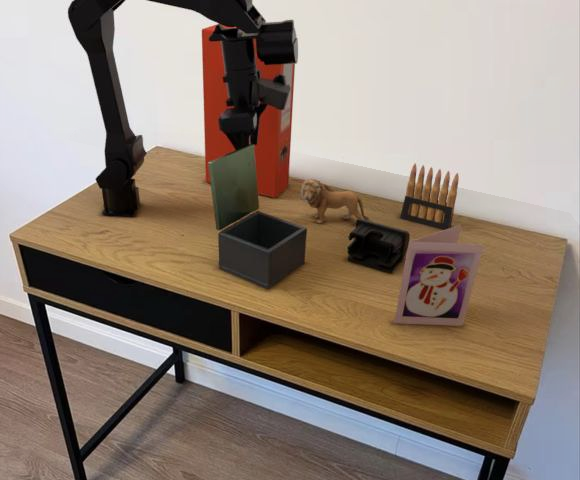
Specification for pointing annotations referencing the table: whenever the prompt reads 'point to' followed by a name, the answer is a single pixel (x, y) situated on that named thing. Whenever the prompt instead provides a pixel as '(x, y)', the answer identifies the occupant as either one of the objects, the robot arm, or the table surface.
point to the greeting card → (437, 279)
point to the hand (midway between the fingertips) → (250, 153)
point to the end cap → (377, 245)
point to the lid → (234, 186)
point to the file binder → (272, 127)
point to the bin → (262, 248)
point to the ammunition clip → (430, 199)
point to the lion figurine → (330, 199)
